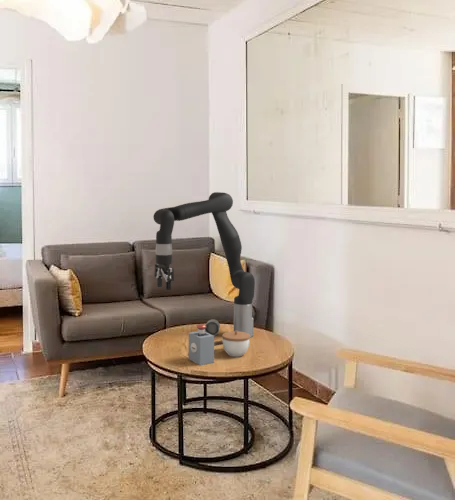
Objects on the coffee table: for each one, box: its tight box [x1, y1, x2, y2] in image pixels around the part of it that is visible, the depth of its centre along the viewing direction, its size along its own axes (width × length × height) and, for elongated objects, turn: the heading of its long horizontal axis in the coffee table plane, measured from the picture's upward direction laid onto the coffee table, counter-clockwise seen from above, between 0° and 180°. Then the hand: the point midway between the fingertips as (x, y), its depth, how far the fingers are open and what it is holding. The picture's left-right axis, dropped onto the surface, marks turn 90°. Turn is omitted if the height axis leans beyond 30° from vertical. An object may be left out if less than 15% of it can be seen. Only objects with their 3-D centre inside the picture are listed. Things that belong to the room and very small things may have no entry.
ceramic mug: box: [205, 318, 221, 337], centre depth 303 cm, size 11×8×8 cm
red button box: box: [188, 330, 215, 366], centre depth 259 cm, size 8×10×12 cm
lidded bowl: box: [221, 330, 251, 358], centre depth 269 cm, size 13×13×11 cm
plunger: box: [196, 323, 206, 337], centre depth 258 cm, size 4×4×6 cm
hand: (163, 288), depth 271 cm, fingers open, 8 cm apart
